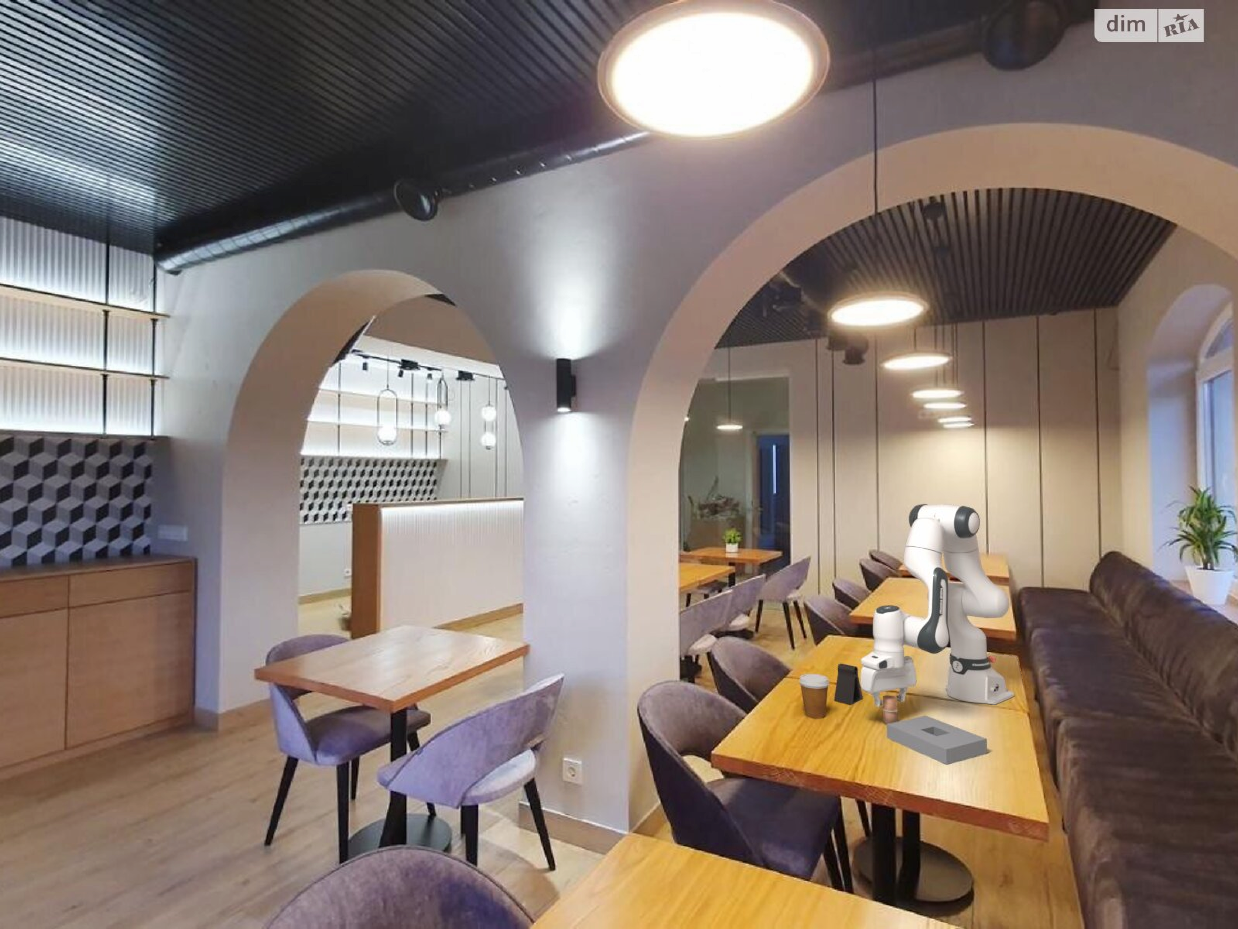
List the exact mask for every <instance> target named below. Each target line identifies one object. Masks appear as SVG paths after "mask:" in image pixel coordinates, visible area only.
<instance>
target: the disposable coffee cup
mask: <svg viewBox="0 0 1238 929" xmlns="http://www.w3.org/2000/svg"><path fill="white" fill-rule="evenodd" d="M798 682H799V685H800V689H801V697H802V704H803V709H804V710H803V711H804V715H805V716H806V717H808V718H811V719H823V718H825V717H826V709H827V700H828V690H829V686H830V681H829V678H828V677H827V676H825V675H822V674H817V673H806V674H802V675H800V677H799V679H798Z"/></svg>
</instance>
